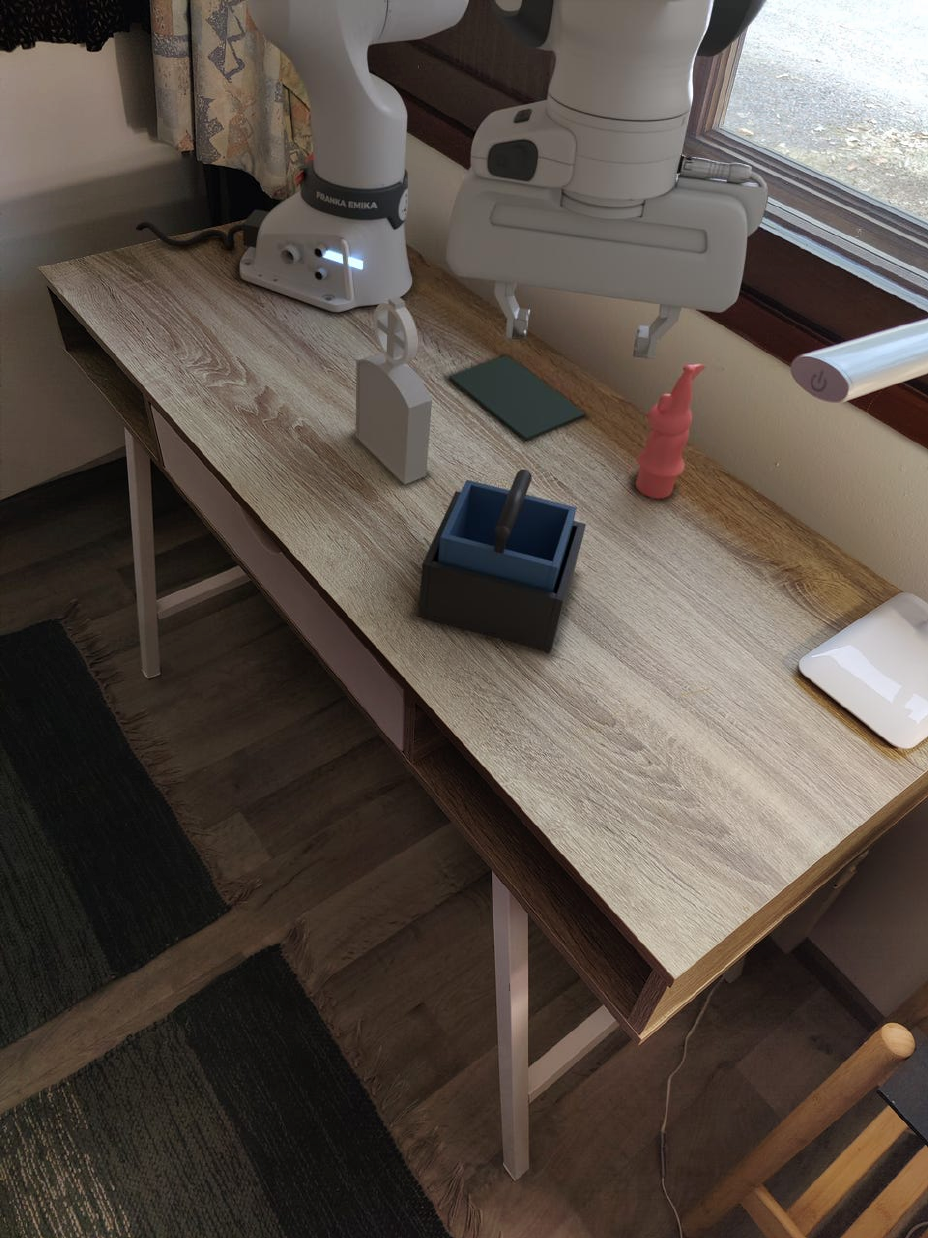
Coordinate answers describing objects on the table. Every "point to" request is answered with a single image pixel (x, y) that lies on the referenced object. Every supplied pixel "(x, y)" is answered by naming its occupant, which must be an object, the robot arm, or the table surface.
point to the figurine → (667, 437)
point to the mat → (516, 397)
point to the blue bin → (508, 534)
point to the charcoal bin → (495, 597)
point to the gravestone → (394, 396)
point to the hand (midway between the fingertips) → (579, 345)
